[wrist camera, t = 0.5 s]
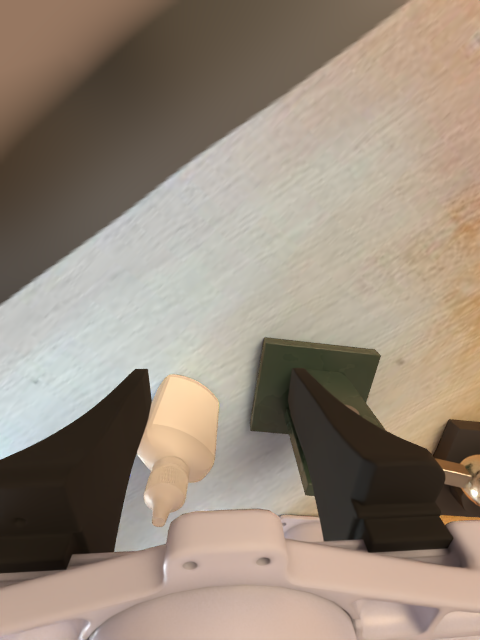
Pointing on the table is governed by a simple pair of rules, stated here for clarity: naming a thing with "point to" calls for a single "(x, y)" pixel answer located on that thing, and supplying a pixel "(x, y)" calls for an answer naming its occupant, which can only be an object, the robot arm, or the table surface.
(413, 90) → the table surface
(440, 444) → the button box
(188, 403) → the eye dropper bottle
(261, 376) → the bracket
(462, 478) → the lever
